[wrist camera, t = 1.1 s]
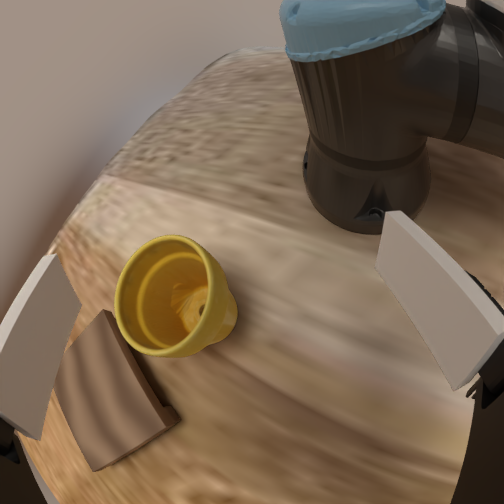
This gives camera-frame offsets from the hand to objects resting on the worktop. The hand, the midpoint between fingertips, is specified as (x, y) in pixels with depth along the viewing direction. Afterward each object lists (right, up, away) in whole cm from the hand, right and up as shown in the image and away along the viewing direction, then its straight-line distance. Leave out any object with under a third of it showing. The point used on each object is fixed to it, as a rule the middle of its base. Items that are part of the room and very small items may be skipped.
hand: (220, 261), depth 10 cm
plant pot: (-3, -7, +20) cm, 21 cm away
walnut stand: (-17, -19, +20) cm, 32 cm away
